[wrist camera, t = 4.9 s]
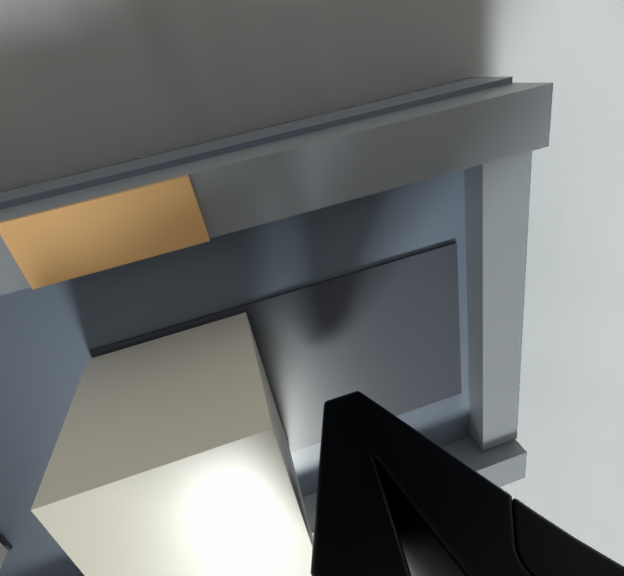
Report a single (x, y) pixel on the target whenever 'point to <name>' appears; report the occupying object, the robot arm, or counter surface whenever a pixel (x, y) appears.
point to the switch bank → (286, 278)
